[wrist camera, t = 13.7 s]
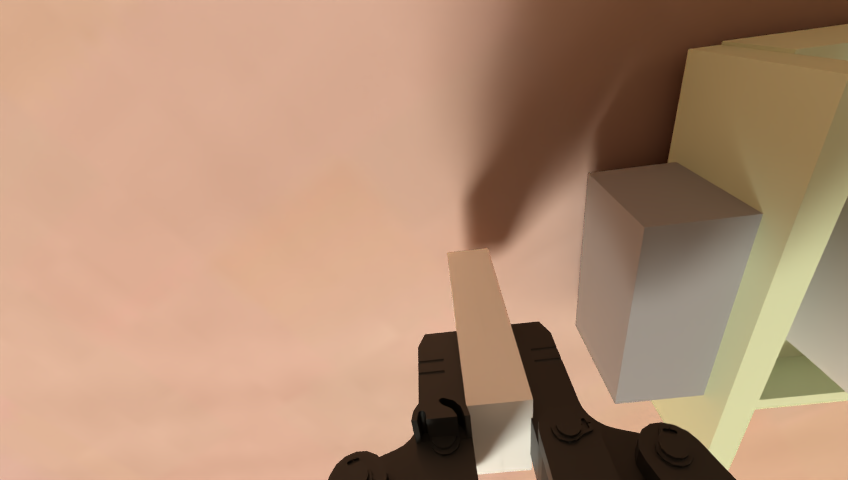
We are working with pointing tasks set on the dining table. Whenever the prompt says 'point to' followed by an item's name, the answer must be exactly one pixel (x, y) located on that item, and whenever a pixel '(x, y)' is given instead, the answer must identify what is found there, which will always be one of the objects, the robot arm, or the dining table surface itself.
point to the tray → (791, 176)
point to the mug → (827, 309)
